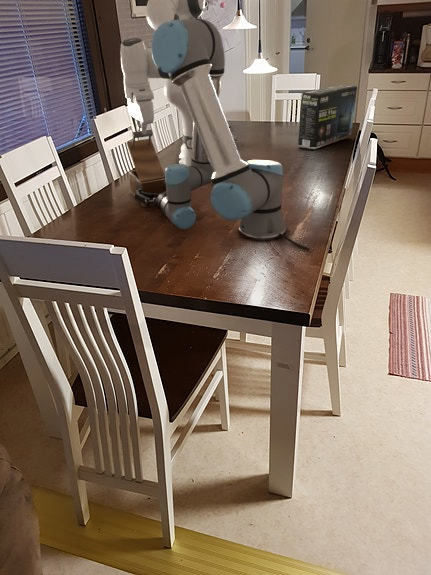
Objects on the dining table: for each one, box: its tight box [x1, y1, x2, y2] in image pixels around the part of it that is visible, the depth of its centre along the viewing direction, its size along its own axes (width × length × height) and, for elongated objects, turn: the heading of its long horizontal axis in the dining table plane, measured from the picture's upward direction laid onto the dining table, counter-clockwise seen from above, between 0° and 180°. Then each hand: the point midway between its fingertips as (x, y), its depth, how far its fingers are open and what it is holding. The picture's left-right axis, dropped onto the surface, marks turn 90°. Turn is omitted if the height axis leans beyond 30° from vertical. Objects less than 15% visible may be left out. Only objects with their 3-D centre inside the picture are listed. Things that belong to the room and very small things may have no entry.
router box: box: [297, 84, 358, 151], centre depth 238 cm, size 36×11×27 cm, turn 134°
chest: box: [128, 169, 166, 208], centre depth 179 cm, size 17×10×9 cm, turn 25°
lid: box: [126, 129, 165, 183], centre depth 168 cm, size 18×10×9 cm
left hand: (142, 132), depth 167 cm, fingers closed
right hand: (150, 186), depth 175 cm, fingers closed on chest, 9 cm apart
